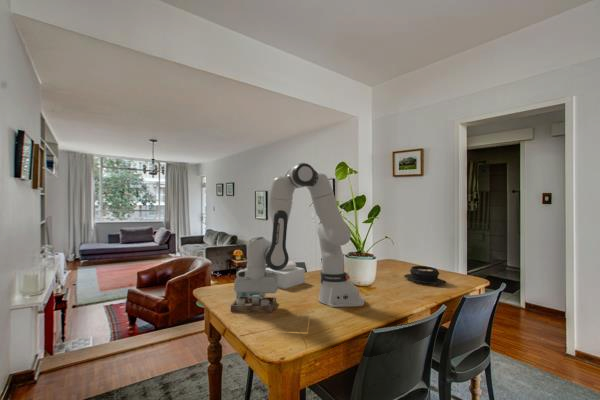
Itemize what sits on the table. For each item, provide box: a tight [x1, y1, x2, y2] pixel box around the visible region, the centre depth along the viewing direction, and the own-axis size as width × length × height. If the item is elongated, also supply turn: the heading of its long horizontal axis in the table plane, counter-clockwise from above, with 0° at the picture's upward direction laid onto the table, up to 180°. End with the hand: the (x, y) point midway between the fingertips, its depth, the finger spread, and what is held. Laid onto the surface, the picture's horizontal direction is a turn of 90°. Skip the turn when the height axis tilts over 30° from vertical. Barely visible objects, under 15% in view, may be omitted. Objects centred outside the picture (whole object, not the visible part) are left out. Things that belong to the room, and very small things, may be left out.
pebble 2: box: [252, 295, 260, 306], centre depth 134 cm, size 4×4×4 cm
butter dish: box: [266, 260, 306, 290], centre depth 172 cm, size 18×18×16 cm
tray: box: [230, 296, 277, 314], centre depth 131 cm, size 18×13×3 cm
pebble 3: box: [261, 299, 269, 306], centre depth 128 cm, size 4×4×4 cm
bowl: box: [236, 292, 263, 299], centre depth 146 cm, size 12×12×5 cm
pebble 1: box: [236, 298, 245, 305], centre depth 129 cm, size 4×4×4 cm
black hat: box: [403, 265, 447, 285], centre depth 178 cm, size 25×19×8 cm
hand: (255, 301), depth 134 cm, fingers closed on pebble 2, 4 cm apart
